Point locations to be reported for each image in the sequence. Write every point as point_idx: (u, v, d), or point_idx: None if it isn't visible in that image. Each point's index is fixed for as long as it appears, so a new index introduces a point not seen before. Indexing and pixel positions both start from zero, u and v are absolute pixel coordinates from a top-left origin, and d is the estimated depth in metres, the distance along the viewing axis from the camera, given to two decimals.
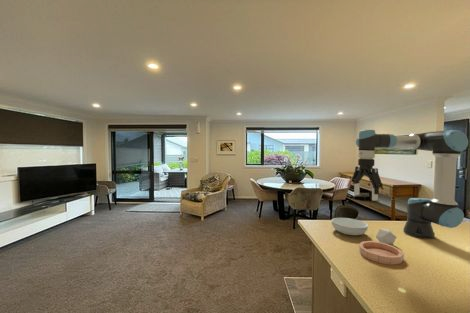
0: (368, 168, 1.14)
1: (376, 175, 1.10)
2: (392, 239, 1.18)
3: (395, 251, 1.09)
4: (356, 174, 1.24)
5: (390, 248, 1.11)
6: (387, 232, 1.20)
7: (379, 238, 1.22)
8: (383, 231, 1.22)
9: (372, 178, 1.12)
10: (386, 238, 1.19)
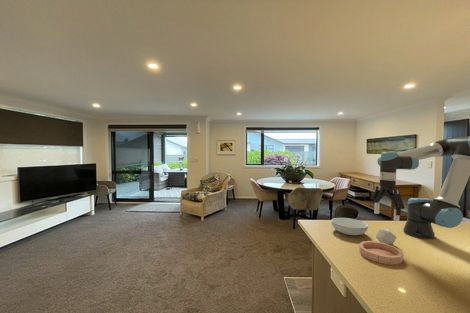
0: (390, 189, 1.18)
1: (398, 197, 1.14)
2: (392, 239, 1.18)
3: (395, 251, 1.09)
4: (376, 193, 1.28)
5: (390, 248, 1.11)
6: (387, 232, 1.20)
7: (379, 238, 1.22)
8: (383, 231, 1.22)
9: (394, 199, 1.17)
10: (386, 238, 1.19)
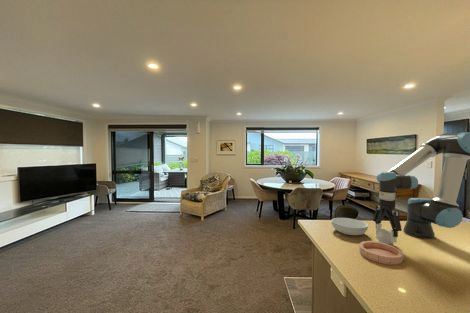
0: (389, 209, 1.19)
1: (396, 219, 1.15)
2: None
3: (395, 251, 1.09)
4: (377, 213, 1.28)
5: (390, 248, 1.11)
6: (387, 232, 1.20)
7: (379, 238, 1.22)
8: (383, 231, 1.22)
9: (392, 220, 1.18)
10: (386, 238, 1.19)
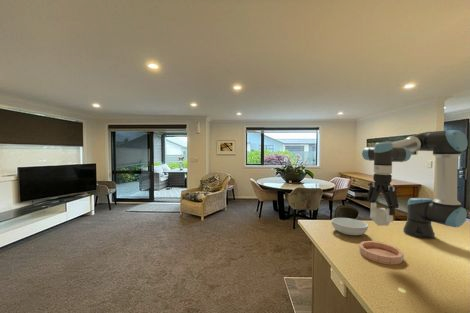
0: (385, 185, 1.04)
1: (393, 194, 1.01)
2: None
3: (395, 251, 1.09)
4: (371, 191, 1.14)
5: (390, 248, 1.11)
6: (382, 210, 1.06)
7: (373, 218, 1.08)
8: (378, 209, 1.08)
9: (388, 197, 1.04)
10: (381, 217, 1.05)
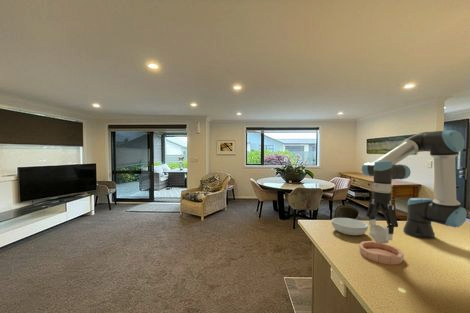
0: (385, 203, 1.05)
1: (392, 213, 1.01)
2: None
3: (395, 251, 1.09)
4: (371, 208, 1.14)
5: (390, 248, 1.11)
6: (382, 228, 1.06)
7: (373, 235, 1.08)
8: (377, 227, 1.08)
9: (387, 215, 1.04)
10: (380, 235, 1.05)
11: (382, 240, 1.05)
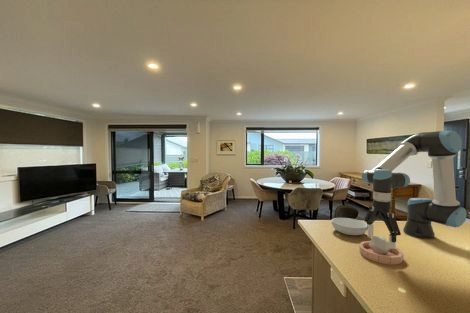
0: (384, 212, 1.05)
1: (393, 221, 1.01)
2: (387, 248, 1.05)
3: (395, 251, 1.09)
4: (370, 214, 1.15)
5: None
6: (381, 240, 1.07)
7: (372, 246, 1.08)
8: (377, 238, 1.08)
9: (389, 223, 1.03)
10: (380, 247, 1.06)
11: (381, 252, 1.06)
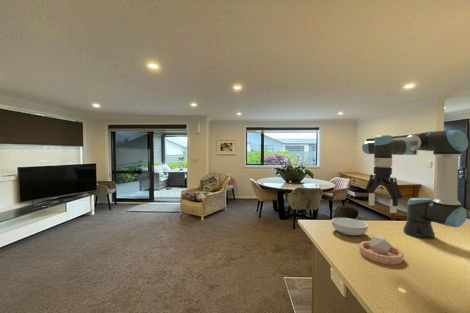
0: (385, 177, 1.05)
1: (394, 185, 1.00)
2: (387, 248, 1.05)
3: (395, 251, 1.09)
4: (371, 183, 1.15)
5: (390, 248, 1.11)
6: (381, 240, 1.07)
7: (372, 246, 1.08)
8: (377, 238, 1.08)
9: (390, 188, 1.03)
10: (380, 247, 1.06)
11: (381, 252, 1.06)
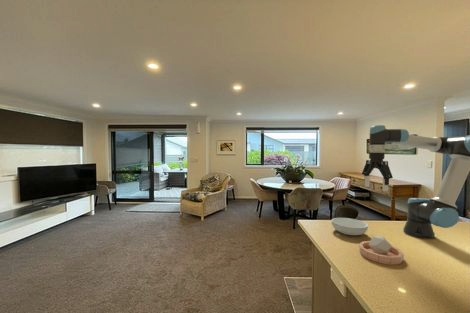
0: (379, 161, 1.23)
1: (386, 167, 1.18)
2: (386, 248, 1.05)
3: (395, 251, 1.09)
4: (367, 167, 1.33)
5: (390, 248, 1.11)
6: (381, 240, 1.07)
7: (372, 246, 1.09)
8: (377, 238, 1.08)
9: (382, 170, 1.21)
10: (380, 247, 1.06)
11: (381, 252, 1.06)
